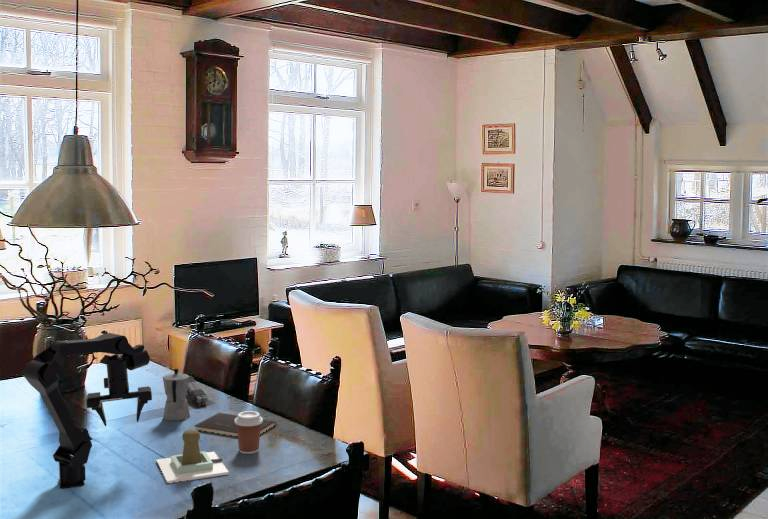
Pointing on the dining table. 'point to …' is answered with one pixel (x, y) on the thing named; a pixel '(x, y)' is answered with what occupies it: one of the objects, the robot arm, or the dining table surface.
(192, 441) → the cork
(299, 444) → the dining table surface
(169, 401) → the coffeepot
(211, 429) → the hardcover book
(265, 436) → the dining table surface
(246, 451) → the coffee cup
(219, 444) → the dining table surface
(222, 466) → the dock plate
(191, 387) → the gun
